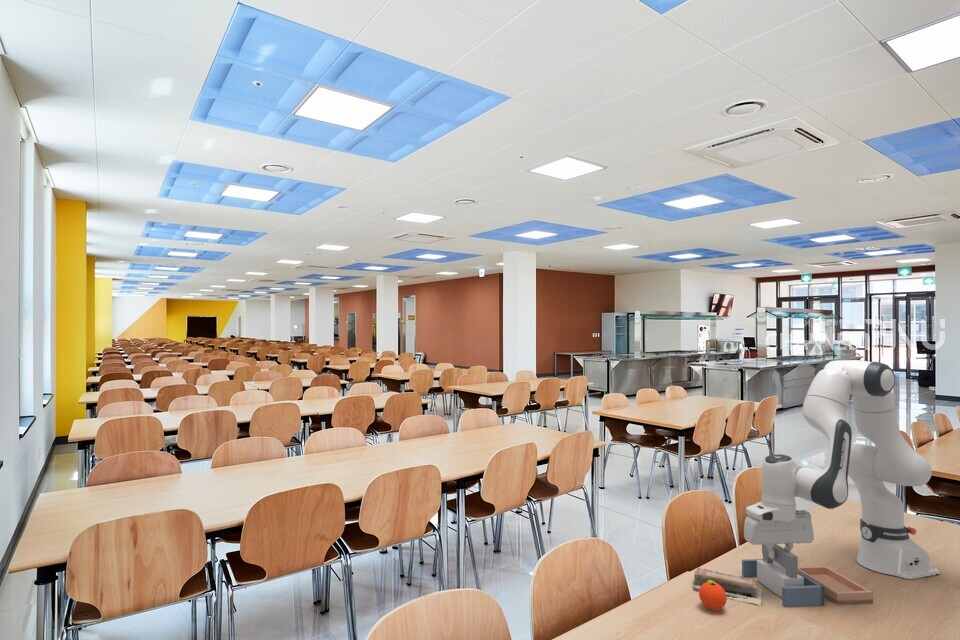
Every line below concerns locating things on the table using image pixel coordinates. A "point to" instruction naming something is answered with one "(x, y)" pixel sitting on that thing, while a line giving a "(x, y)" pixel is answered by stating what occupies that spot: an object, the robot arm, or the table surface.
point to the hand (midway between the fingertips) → (779, 557)
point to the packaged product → (728, 584)
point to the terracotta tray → (838, 586)
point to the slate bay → (791, 588)
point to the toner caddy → (778, 570)
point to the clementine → (712, 595)
